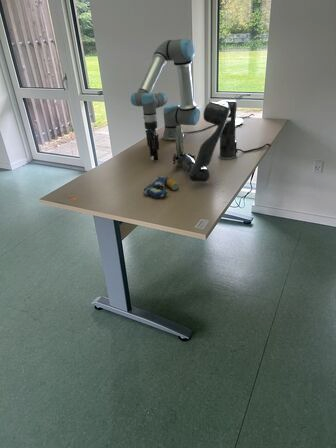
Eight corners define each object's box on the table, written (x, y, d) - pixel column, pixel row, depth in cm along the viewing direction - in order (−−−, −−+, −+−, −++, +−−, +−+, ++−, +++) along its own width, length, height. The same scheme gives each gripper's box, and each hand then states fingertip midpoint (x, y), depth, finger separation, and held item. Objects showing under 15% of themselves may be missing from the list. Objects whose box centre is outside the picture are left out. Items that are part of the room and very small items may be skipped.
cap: (149, 159, 208) (149, 157, 207) (154, 157, 211) (153, 155, 210) (154, 160, 206) (154, 158, 205) (158, 158, 208) (158, 156, 208)
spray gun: (184, 183, 177) (159, 180, 184) (183, 176, 175) (158, 173, 182) (167, 201, 162) (140, 197, 168) (166, 193, 160) (139, 190, 166)
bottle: (183, 163, 202) (181, 125, 190) (185, 166, 199) (183, 126, 187) (176, 164, 202) (173, 126, 190) (178, 167, 198) (175, 127, 186)
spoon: (236, 135, 246) (236, 133, 245) (221, 135, 249) (221, 132, 248) (244, 120, 272) (244, 117, 271) (231, 120, 276) (231, 117, 274)
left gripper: (139, 119, 202) (143, 156, 214) (151, 125, 188) (155, 164, 200) (150, 117, 204) (153, 154, 216) (162, 122, 191) (166, 161, 203)
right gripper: (200, 155, 185) (189, 146, 199) (175, 159, 182) (166, 150, 196) (200, 168, 189) (190, 158, 203) (176, 172, 186) (167, 162, 200)
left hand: (154, 159), depth 208 cm, fingers closed on cap, 4 cm apart
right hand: (178, 154), depth 199 cm, fingers closed on bottle, 4 cm apart
